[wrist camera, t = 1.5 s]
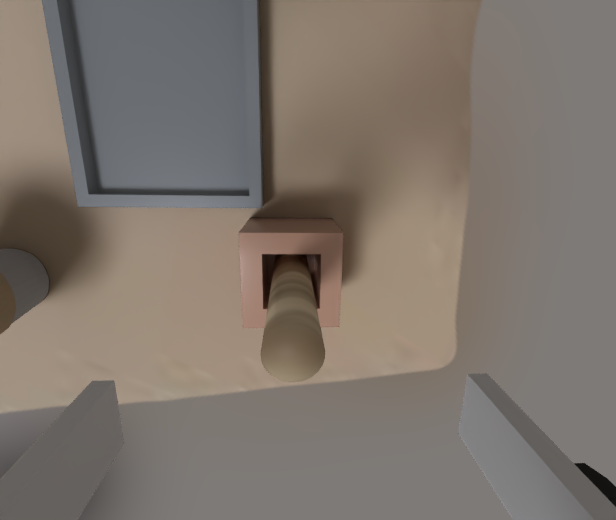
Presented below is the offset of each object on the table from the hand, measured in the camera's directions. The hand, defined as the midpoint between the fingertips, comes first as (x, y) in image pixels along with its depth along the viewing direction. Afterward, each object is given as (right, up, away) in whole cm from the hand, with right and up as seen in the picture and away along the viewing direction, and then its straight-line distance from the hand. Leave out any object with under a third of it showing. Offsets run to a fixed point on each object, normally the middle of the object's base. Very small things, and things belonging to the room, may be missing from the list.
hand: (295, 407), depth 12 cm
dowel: (-1, +6, +18) cm, 19 cm away
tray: (-11, +21, +14) cm, 28 cm away
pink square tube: (-1, +6, +19) cm, 20 cm away
